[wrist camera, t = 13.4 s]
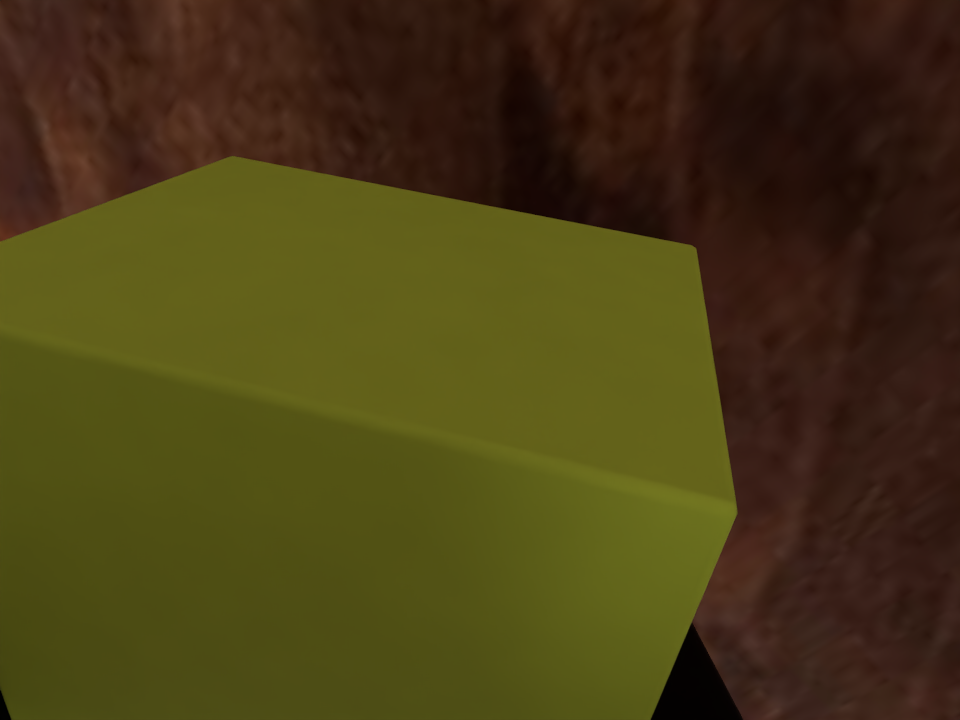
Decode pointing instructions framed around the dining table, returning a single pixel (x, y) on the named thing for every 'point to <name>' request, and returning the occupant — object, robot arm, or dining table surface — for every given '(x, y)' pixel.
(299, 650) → the sponge
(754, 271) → the dining table surface
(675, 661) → the robot arm
